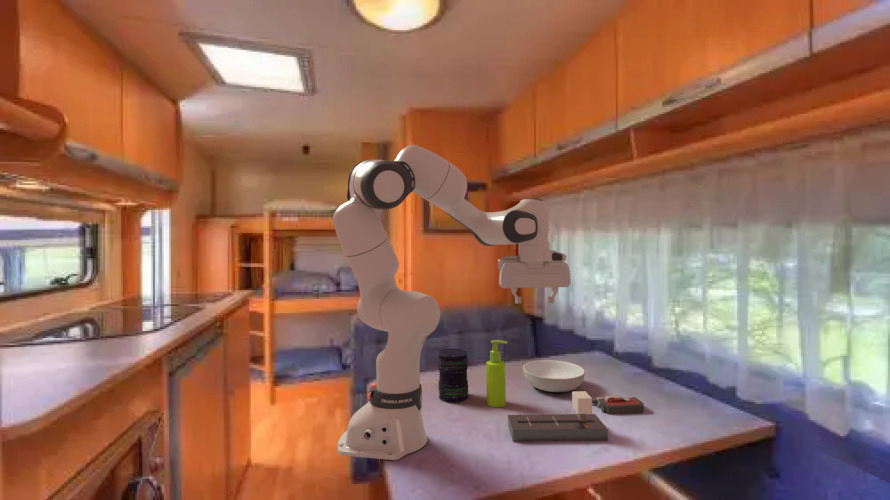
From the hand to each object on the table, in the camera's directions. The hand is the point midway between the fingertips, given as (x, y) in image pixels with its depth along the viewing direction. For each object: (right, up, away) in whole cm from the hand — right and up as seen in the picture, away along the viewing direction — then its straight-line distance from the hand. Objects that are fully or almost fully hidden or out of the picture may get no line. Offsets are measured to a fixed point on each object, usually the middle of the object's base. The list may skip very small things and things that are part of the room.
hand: (534, 303), depth 116 cm
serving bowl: (+12, -33, +24) cm, 43 cm away
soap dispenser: (-9, -33, +10) cm, 36 cm away
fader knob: (+10, -30, -10) cm, 33 cm away
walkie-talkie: (+24, -33, +5) cm, 41 cm away
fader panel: (+3, -33, -10) cm, 35 cm away
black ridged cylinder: (-23, -34, +17) cm, 44 cm away
